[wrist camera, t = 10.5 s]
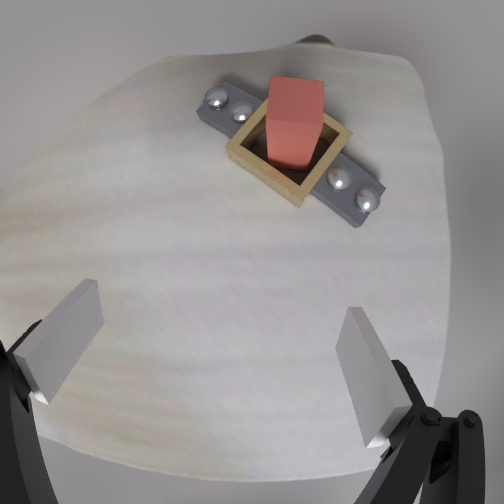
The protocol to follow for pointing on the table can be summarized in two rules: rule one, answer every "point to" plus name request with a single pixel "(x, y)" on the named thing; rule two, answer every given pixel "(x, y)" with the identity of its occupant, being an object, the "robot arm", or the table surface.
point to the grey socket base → (317, 182)
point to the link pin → (293, 121)
